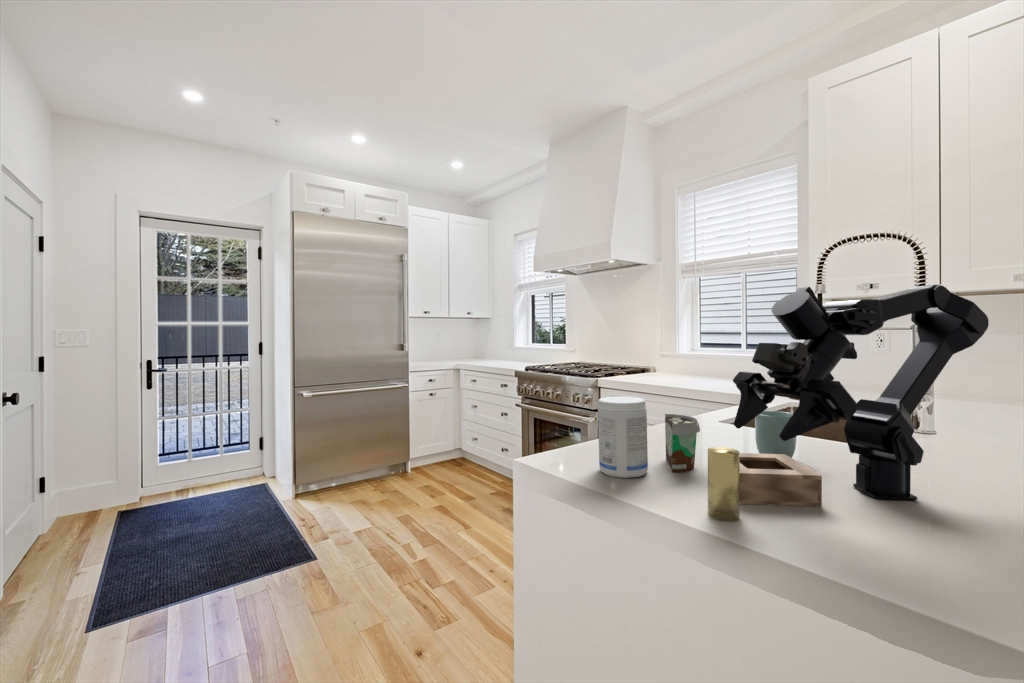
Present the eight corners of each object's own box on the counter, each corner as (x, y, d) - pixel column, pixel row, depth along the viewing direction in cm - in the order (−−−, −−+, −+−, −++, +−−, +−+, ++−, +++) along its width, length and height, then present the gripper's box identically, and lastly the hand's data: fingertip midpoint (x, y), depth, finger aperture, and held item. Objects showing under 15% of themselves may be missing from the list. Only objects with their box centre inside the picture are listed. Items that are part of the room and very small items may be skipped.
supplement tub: (645, 466, 97) (645, 396, 96) (650, 480, 87) (649, 403, 87) (598, 464, 98) (597, 395, 98) (598, 478, 89) (597, 402, 89)
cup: (763, 463, 98) (762, 416, 98) (750, 453, 105) (750, 410, 105) (802, 464, 96) (802, 417, 96) (787, 454, 104) (787, 410, 104)
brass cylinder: (733, 511, 72) (733, 447, 72) (744, 522, 68) (743, 454, 68) (704, 509, 73) (704, 446, 73) (712, 521, 68) (712, 454, 68)
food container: (706, 476, 89) (706, 425, 89) (672, 474, 91) (672, 424, 90) (694, 459, 101) (694, 414, 101) (665, 458, 103) (664, 413, 102)
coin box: (785, 480, 86) (785, 454, 86) (821, 506, 73) (821, 475, 73) (712, 478, 88) (712, 452, 88) (735, 503, 75) (735, 473, 75)
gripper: (742, 325, 82) (688, 390, 79) (841, 323, 64) (776, 406, 61) (778, 369, 84) (726, 433, 81) (884, 378, 66) (823, 461, 63)
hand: (757, 432), depth 72 cm, fingers open, 9 cm apart
